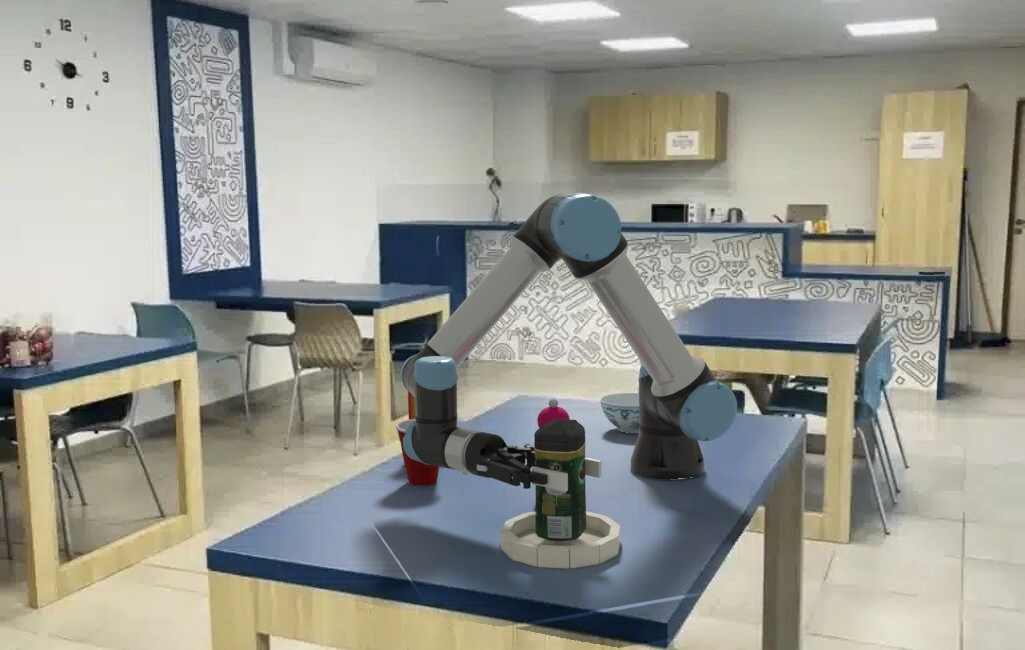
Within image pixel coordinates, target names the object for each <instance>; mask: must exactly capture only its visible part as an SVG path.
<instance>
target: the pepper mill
mask: <svg viewBox="0 0 1025 650" xmlns="http://www.w3.org/2000/svg"><path fill="white" fill-rule="evenodd" d="M553 419H569V420H571V419H570V415H569V413H568V411H566V409H564V408H563V407H559V402H558V400H557V398H551V399H549V400H548V406H547V407H545V408H543V409H542V410H541V411H540V412H539V413H538V415H537V420H536V421H537V427H538V429H539V428H540V427H541V426H543V425H544V424H546V423H548V422H550V421H552V420H553Z"/></svg>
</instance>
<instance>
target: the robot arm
mask: <svg viewBox="0 0 1025 650" xmlns="http://www.w3.org/2000/svg"><path fill="white" fill-rule="evenodd" d="M621 223H622V222H621V218H620V216H619V213H618V211H617V210H616V208H615V207H614V206H613V205H612V204H611V203H610V202H609V201H607V200H606V199H604V198H602V197H600V196H598V195H595V194H593V193H588V192H577V193H560V194H555V195H552V196H550V197H549V198H547V199H545V200H544V201H543V202H541V204H539V205H538V206H537V207H536V208H535V210H534V211H533V212H532V213H531V214H530V215H529V217H528V218H527V219H526V220H525V221H524V223H523V224H522V225H521V227H519V229H518V230H517V231H516V232H515V234H514V235H513V236H512V237H511V238H510V240H511V241H510V243H511V245H510V247H509V249H507V251H506V252H504V254H503V255H502V256H501V258H500V259H499V260H498V261H497V262H496V263H495V265H494V266H493V267H492V268H491V269H490V270H489V272H488V273H487V274H486V275H485V276H484V277H483V278H482V280H481V281H480V282H479V283H478V284H477V285H476V287H475V288H474V289H473V290H472V291H471V292H470V293H469V294H468V296H466V298H465V299H464V300H463V301H462V302H461V303H460V305H458V307H457V308H456V310H455V311H454V312H453V313H452V314H451V315H450V316H449V317H448V319H447V320H446V321H445V322H444V323H443V324H442V326H441V327H440V328H439V329H438V330H437V332H436V333H434V335H433V336H432V337H431V339H430V340H429V341H428V342H427V343H426V344H425V345H424V346H423V347H422V349H421V350H419V352H418V353H417V354H414V355H411V356H410V357H408V358H406V360H405V361H404V362H403V364H402V366H401V371H400V375H401V376H400V377H401V380H402V384H403V386H404V388H406V391H407V393H408V392H410V393H411V394H412V395H413V396H414V397H415V408H416V420H415V421H414V422H412V423H411V424H410V425H409V426H408V427H407V429H406V431H405V432H406V434H405V436H404V437H403V447H404V450H405V452H406V454H407V455H408V456H409V457H410V458H411V459H413V460H416V461H419V462H422V463H424V464H428V465H434V466H439V468H444V469H449V470H452V471H457V472H460V473H462V474H463V475H464V476H468V474H472V475H474V476H477V477H482V478H487V479H494V480H497V481H500V482H502V483H505V484H507V485H511V486H514V487H519V486H521V483H522V484H523V487H522V488H523V489H524V490H528V489H531V484H532V485H534V486H536V485H539V486H543V487H547V488H552V489H556V490H561V491H567V490H568V473H563V472H558V471H554V470H549V469H544V468H540V467H535V452H534V444H531V443H525V444H524V445H523V447H519V446H517V445H507V443H506V441H505V439H504V438H503V437H502V436H501V435H498V434H494V433H489V432H485V431H481V430H475V429H470V428H465V427H464V428H463V427H459V426H458V380H459V378H458V377H459V376H458V373H457V369H458V368H459V367H460V365H462V363H463V362H464V361H465V360H466V359H467V357H468V356H469V355H470V354H471V353H472V352H473V351H474V349H476V347H477V346H478V345H479V344H480V342H481V341H482V340H483V339H484V338H485V337H486V336H487V335H488V334H489V332H490V331H491V330H492V329H493V328H494V326H495V325H496V324H498V322H499V321H500V320H501V319H502V317H504V315H505V314H506V313H507V312H508V310H509V309H510V308H511V307H512V306H513V304H515V302H516V301H517V300H519V298H520V297H521V296H522V294H523V293H524V292H525V291H526V290H527V289H528V287H529V286H530V285H531V284H533V282H534V281H535V279H537V277H538V276H539V275H540V274H541V273H544V272H549V271H550V270H551V269H552V268H553V266H555V265H556V263H557V262H559V261H560V260H562V261H563V262H564V264H565V265H566V267H567V269H568V270H569V272H571V274H572V276H573V277H574V279H576V280H579V281H584V282H587V283H588V285H589V287H590V288H591V289H592V291H593V292H594V294H595V295H596V297H597V298H598V300H599V301H600V302H601V304H602V306H603V307H604V309H605V310H606V312H607V313H608V315H609V316H610V317H611V319H612V321H613V322H614V324H615V325H616V327H617V328H618V330H619V331H620V333H621V334H622V336H623V337H624V339H625V340H626V341H627V343H628V345H629V346H630V348H631V349H632V351H633V352H634V353H635V355H636V357H637V358H638V359H639V361H640V362H641V366H640V367H639V375H638V379H637V380H638V393H639V433H638V436H637V439H636V442H635V445H634V449H633V451H632V454H631V457H630V471H631V472H632V473H633V474H635V475H637V476H639V477H643V478H646V479H652V480H661V481H671V480H670V479H678V478H690V477H694V478H697V477H696V476H698V475H700V474H702V473H703V472H704V473H705V459H704V456H703V453H702V449H701V446H700V444H699V441H700V442H710V441H714V440H717V439H718V438H721V437H722V436H724V435H725V434H726V433H727V432H728V431H729V430H730V428H732V426H733V424H734V422H735V420H736V415H737V413H738V401H737V398H736V395H735V393H734V392H733V391H732V389H731V388H730V387H728V386H727V385H726V384H725V383H723V382H720V381H718V379H717V378H716V377H715V375H714V374H713V372H712V371H711V369H710V368H709V366H708V364H707V363H706V361H705V360H704V359H703V358H702V357H699V356H695V355H691V353H690V351H689V350H688V347H686V345H685V344H684V342H683V340H682V339H681V337H680V336H679V334H678V333H677V332H676V330H675V328H674V327H673V326H672V324H671V322H670V321H669V319H668V317H667V316H666V315H665V313H664V311H663V310H662V308H661V307H660V305H659V304H658V302H657V300H656V298H654V296H653V295H652V293H651V291H650V290H649V289H648V288H649V287H647V285H646V284H645V282H644V281H643V279H642V278H641V276H640V275H639V273H638V271H637V270H636V268H635V267H634V265H633V263H632V262H631V260H630V258H628V256H627V254H628V253H627V252H628V249H629V242H628V240H627V239H626V238H625V236H624V235H623V232H622V224H621ZM602 467H603V465H602V460H599V459H594V458H590V457H585V476H588V477H593V478H597V479H600V478H602V477H603V476H602V475H603V473H602V472H603V471H602ZM704 473H703V474H704ZM703 474H702V475H703ZM700 476H701V475H700ZM698 477H699V476H698ZM690 479H691V478H690Z"/></svg>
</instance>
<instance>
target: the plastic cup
mask: <svg viewBox="0 0 1025 650" xmlns="http://www.w3.org/2000/svg"><path fill="white" fill-rule="evenodd" d="M414 421H415V420H409V419H407V420H401V421H398V422H397V423H396V424H395V429H396V430H397V433H398V438H399V442H400V447H401V448H400V449H401V452H402V453H401V454H402V458H403V464H404V468H405V472H406V478H407V480H408V483H409V484H410V485H411V486H416V487H417V486H418V487H419V486H420V487H421V486H422V487H424V486H431V485H434V484H436V483H437V481H438V477H439V473H440V472H439V470H440V467H439V466H434V465H428V464H424V463H422V462H419V461H416V460H413V459H411V458H410V457H409V456H408V455H407V454H406V452H405V450H404V447H403V437H404V436H405V434H406V432H405V431H406V429H407V427H408V426H409V425H410V424H411V423H412V422H414Z"/></svg>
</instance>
